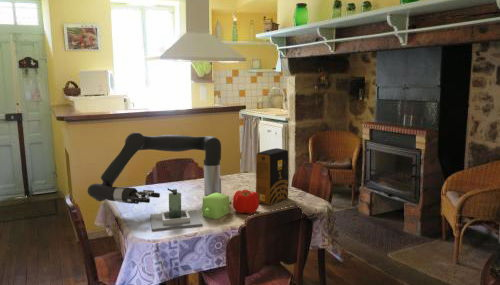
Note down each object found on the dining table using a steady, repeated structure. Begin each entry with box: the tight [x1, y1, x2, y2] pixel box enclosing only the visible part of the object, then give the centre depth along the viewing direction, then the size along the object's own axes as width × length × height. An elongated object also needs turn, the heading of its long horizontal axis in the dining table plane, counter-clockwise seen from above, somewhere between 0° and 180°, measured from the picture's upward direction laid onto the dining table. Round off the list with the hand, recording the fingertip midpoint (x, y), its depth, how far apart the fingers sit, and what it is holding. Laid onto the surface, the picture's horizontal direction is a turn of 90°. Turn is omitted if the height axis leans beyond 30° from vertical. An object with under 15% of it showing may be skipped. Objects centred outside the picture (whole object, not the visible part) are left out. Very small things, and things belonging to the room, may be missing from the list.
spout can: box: [166, 188, 182, 219], centre depth 187 cm, size 6×6×15 cm
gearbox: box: [202, 192, 233, 220], centre depth 196 cm, size 18×10×10 cm, turn 146°
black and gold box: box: [255, 147, 289, 206], centre depth 218 cm, size 11×19×28 cm, turn 142°
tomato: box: [232, 189, 260, 215], centre depth 200 cm, size 14×13×10 cm
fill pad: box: [149, 209, 203, 232], centre depth 189 cm, size 22×20×3 cm
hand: (154, 197), depth 191 cm, fingers open, 8 cm apart
